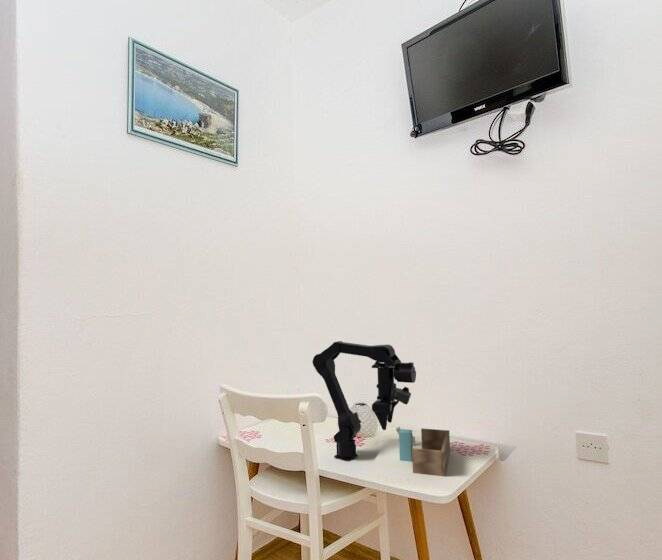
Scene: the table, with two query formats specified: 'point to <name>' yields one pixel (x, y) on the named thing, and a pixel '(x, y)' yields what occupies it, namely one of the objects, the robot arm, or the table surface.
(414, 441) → the lighter
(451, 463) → the table surface
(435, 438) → the open box
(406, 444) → the pillar block
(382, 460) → the table surface
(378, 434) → the table surface
